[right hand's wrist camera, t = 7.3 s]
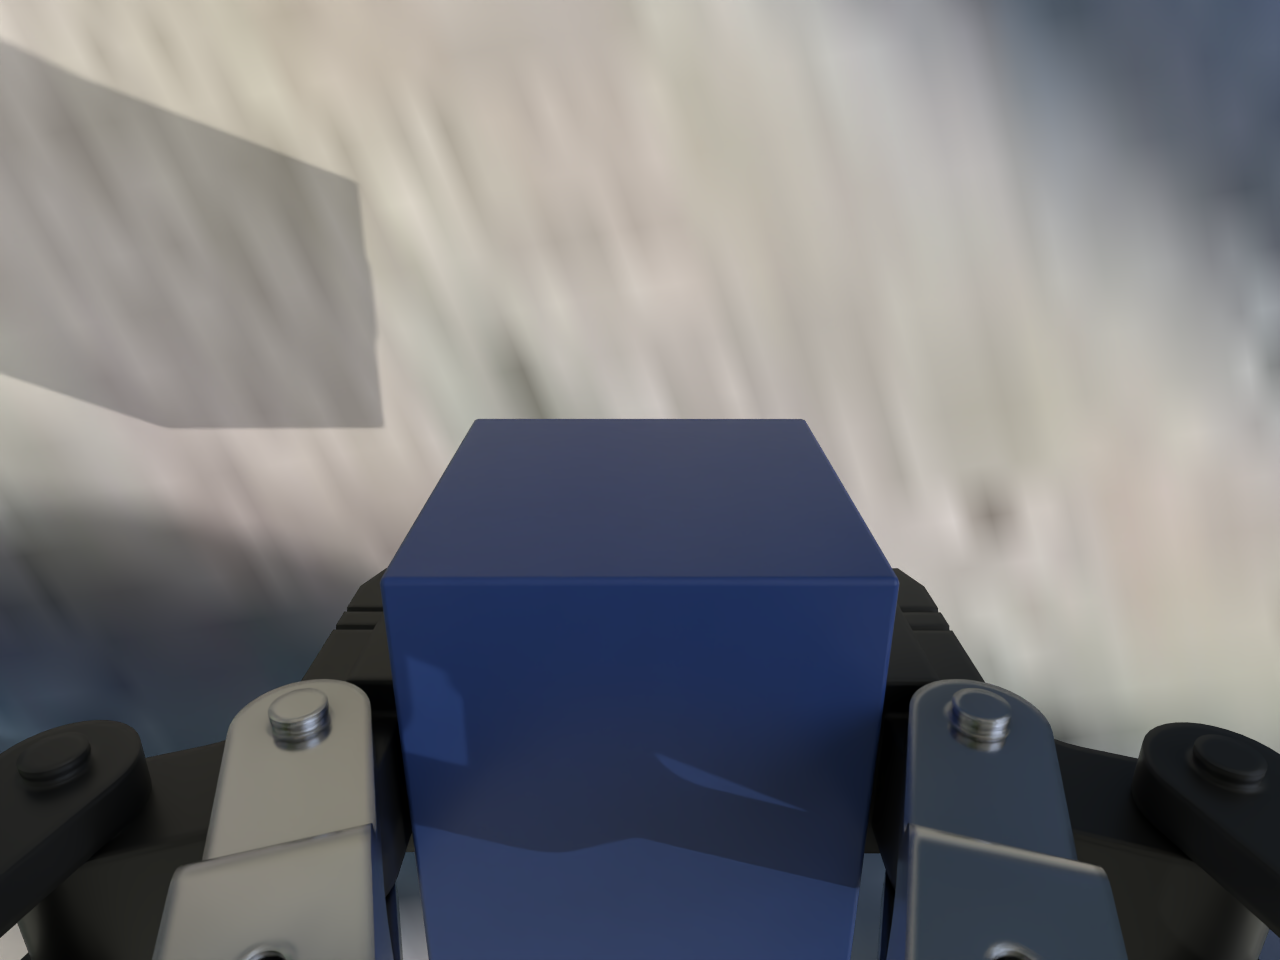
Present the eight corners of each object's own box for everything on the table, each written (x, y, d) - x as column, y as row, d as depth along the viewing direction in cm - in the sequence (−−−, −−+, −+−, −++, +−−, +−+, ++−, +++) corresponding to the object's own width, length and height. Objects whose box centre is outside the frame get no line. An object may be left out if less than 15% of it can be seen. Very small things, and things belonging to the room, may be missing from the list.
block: (805, 417, 12) (903, 580, 7) (782, 710, 13) (849, 977, 9) (474, 417, 12) (375, 580, 7) (496, 710, 13) (428, 978, 9)
